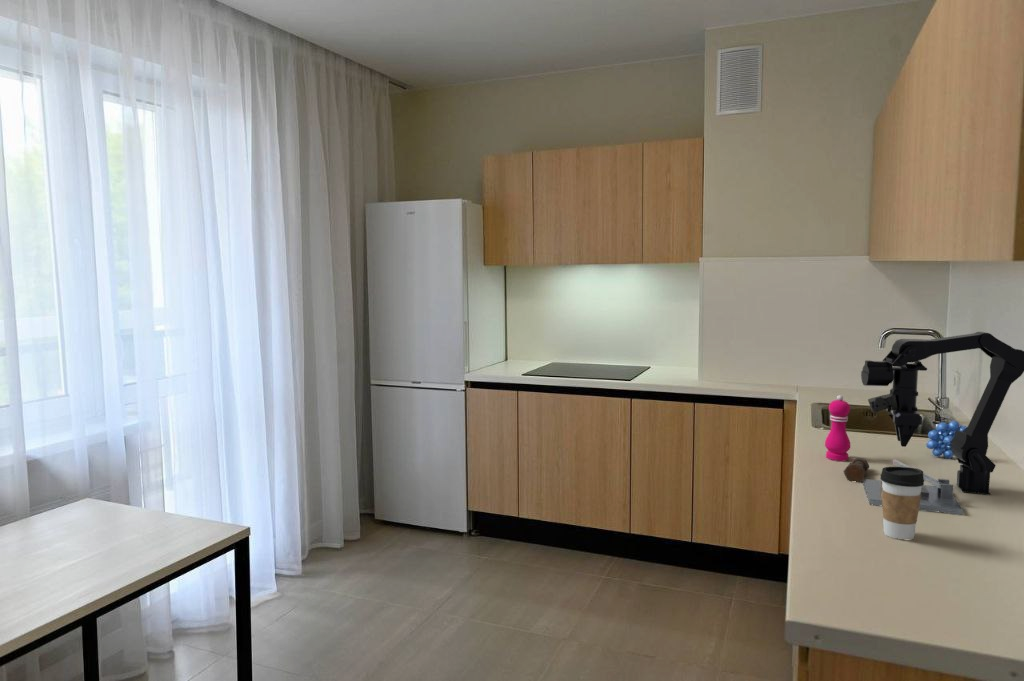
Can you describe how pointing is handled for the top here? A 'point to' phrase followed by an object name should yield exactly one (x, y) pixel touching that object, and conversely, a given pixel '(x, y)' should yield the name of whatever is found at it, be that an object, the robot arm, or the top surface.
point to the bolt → (856, 470)
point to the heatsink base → (930, 496)
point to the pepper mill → (838, 431)
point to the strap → (926, 478)
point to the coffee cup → (901, 500)
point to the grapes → (943, 438)
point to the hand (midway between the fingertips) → (901, 443)
